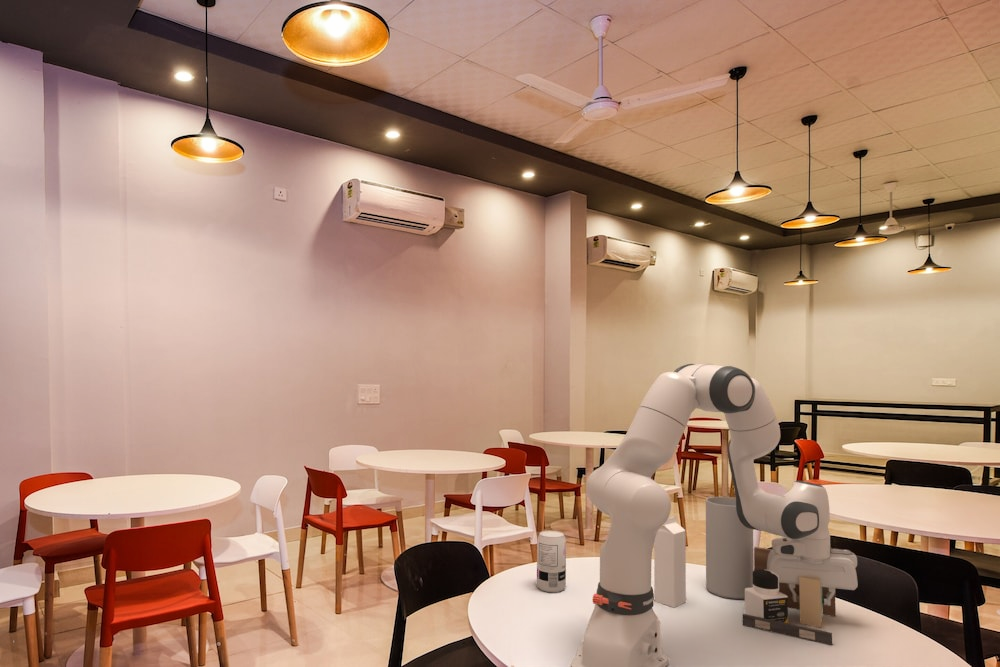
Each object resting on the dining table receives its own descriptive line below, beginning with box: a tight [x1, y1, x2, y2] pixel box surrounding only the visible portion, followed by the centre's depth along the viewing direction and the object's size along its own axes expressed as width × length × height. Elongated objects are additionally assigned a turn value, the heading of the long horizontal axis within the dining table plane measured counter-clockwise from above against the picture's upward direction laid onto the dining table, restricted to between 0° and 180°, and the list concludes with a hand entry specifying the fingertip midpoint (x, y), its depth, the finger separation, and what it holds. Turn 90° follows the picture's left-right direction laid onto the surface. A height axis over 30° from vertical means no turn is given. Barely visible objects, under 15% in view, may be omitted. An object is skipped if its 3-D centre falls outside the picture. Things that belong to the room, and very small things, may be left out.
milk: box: [653, 516, 687, 608], centre depth 158 cm, size 6×6×22 cm
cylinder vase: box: [705, 496, 754, 600], centre depth 166 cm, size 12×12×25 cm
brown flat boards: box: [742, 546, 837, 646], centre depth 147 cm, size 20×19×14 cm
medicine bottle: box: [744, 569, 789, 623], centre depth 146 cm, size 7×7×12 cm
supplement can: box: [536, 529, 567, 593], centre depth 167 cm, size 8×8×15 cm
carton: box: [799, 576, 824, 628], centre depth 147 cm, size 5×7×11 cm
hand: (811, 603), depth 147 cm, fingers closed on carton, 5 cm apart
